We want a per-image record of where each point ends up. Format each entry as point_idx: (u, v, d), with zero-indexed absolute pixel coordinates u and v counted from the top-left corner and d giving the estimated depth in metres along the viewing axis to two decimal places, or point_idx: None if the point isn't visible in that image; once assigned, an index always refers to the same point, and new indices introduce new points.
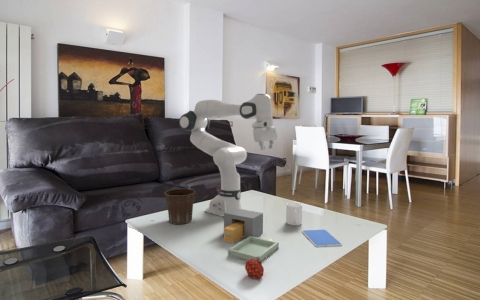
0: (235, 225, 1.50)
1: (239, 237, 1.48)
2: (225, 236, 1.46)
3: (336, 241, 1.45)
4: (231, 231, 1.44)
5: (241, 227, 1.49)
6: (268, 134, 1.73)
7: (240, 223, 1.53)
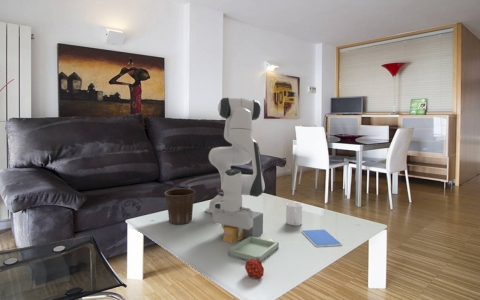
0: None
1: (239, 237, 1.48)
2: (225, 236, 1.46)
3: (336, 241, 1.45)
4: (230, 231, 1.44)
5: None
6: (229, 219, 1.45)
7: None
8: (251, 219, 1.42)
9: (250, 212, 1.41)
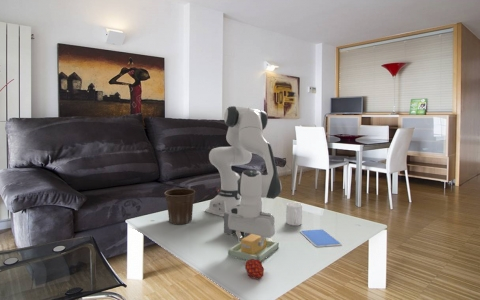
0: (254, 236, 1.34)
1: (258, 250, 1.32)
2: (242, 249, 1.30)
3: (335, 241, 1.45)
4: (249, 243, 1.28)
5: (260, 238, 1.33)
6: (248, 225, 1.29)
7: None
8: (273, 226, 1.26)
9: (272, 218, 1.25)
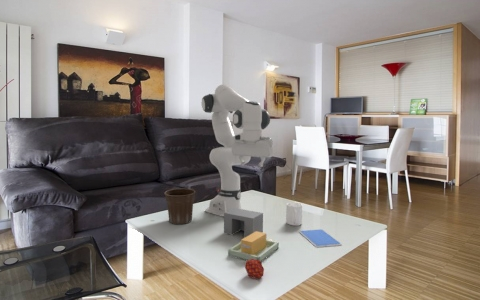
0: (254, 236, 1.34)
1: (258, 250, 1.32)
2: (242, 249, 1.30)
3: (335, 241, 1.45)
4: (249, 243, 1.28)
5: (260, 238, 1.33)
6: (249, 149, 1.49)
7: (259, 234, 1.36)
8: (271, 148, 1.46)
9: (270, 140, 1.45)
